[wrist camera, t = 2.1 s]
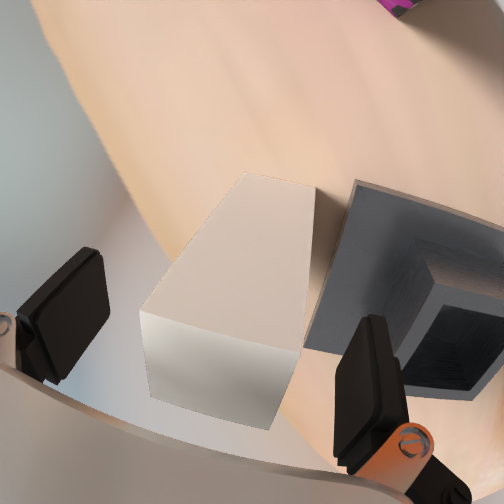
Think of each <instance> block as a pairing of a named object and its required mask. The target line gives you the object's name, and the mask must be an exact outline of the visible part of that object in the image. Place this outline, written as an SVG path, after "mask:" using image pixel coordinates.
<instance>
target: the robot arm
mask: <svg viewBox="0 0 504 504" xmlns="http://www.w3.org/2000/svg"><path fill="white" fill-rule="evenodd" d="M17 314H18V315H17V316H16V317H15V318H14V316H13V315H12V314H10V313H7V312H0V504H471V502H472V495H471V492H470V489H469V488H468V486H467V485H466V484H465V483H464V482H463V481H462V480H460V479H459V478H458V477H457V476H456V475H455V474H454V473H453V472H451V471H450V470H449V469H448V468H447V467H446V466H445V465H444V464H443V463H441V462H440V461H439V460H438V459H437V458H436V457H435V456H434V455H432V453H433V451H434V441H433V438H432V436H431V434H430V432H429V431H428V430H427V429H426V428H425V427H423V426H421V425H420V424H416V423H409V415H408V408H407V402H406V395H405V389H404V383H403V377H402V372H401V366H400V362H399V359H398V358H397V357H394V356H393V351H392V345H391V340H390V335H389V330H388V325H387V321H386V317H384V316H380V315H375V314H368V315H367V317H362V318H361V320H360V322H359V324H358V326H357V328H356V331H355V333H354V335H353V337H352V339H351V341H350V343H349V345H348V347H347V349H346V351H345V353H344V355H343V357H342V359H341V361H340V363H339V365H338V367H337V369H336V374H335V420H334V447H333V456H334V457H335V458H338V463H337V466H346V467H347V473H348V474H349V475H347V474H340V473H333V472H327V471H320V470H312V469H305V468H298V467H292V466H286V465H280V464H275V463H269V462H264V461H258V460H254V459H249V458H244V457H240V456H235V455H231V454H227V453H223V452H219V451H215V450H211V449H207V448H204V447H200V446H196V445H193V444H190V443H186V442H182V441H180V440H176V439H173V438H170V437H167V436H164V435H161V434H158V433H155V432H152V431H149V430H146V429H144V428H141V427H138V426H136V425H133V424H130V423H128V422H125V421H123V420H120V419H118V418H115V417H113V416H110V415H108V414H105V413H103V412H101V411H98V410H96V409H94V408H91V407H89V406H87V405H85V404H83V403H81V402H79V401H76V400H74V399H72V398H70V397H68V396H66V395H64V394H62V393H60V392H58V391H56V390H54V389H52V388H50V387H48V386H46V385H44V384H43V381H44V380H45V378H46V380H48V381H49V382H51V383H53V384H55V385H58V384H59V382H60V381H61V379H62V380H63V379H65V378H66V377H67V376H68V374H69V373H70V371H71V370H72V368H73V367H74V366H75V364H76V362H77V361H78V360H79V358H80V357H81V356H82V354H83V353H84V351H85V350H86V348H87V347H88V345H89V344H90V343H91V341H92V340H93V339H94V337H95V336H96V335H97V333H98V332H99V330H100V329H101V327H102V326H103V325H104V324H105V322H106V320H107V319H108V318H109V315H110V306H109V299H108V292H107V285H106V278H105V271H104V263H103V257H102V255H100V252H99V251H98V250H95V249H92V248H89V247H83V248H82V249H81V250H80V251H78V252H77V253H76V254H75V255H74V256H73V257H72V258H70V259H69V260H68V261H67V262H66V263H65V264H64V265H63V266H62V267H61V268H60V269H59V270H57V272H55V273H54V274H53V275H52V276H51V277H50V278H49V279H48V280H47V281H46V282H45V283H44V284H43V285H42V286H41V287H40V288H39V289H38V290H37V291H36V292H35V293H34V294H33V295H32V296H31V297H30V298H29V299H28V300H27V301H26V302H25V303H24V304H23V305H22V306H21V307H20V308H19V309H18V310H17Z"/></svg>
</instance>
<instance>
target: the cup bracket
mask: <svg viewBox="0 0 504 504" xmlns="http://www.w3.org/2000/svg"><path fill="white" fill-rule="evenodd" d="M368 314H375V315H380V316H384V317H386V321H387V325H388V330H389V335H390V340H391V345H392V351H393V356H394V357H397V358H398V359H399V362H400V366H401V372H402V377H403V383H404V389H405V395H406V396H414V397H424V398H436V399H449V400H466V401H472V400H473V399H474V398H475V397H476V396H477V395H478V394H479V393H480V392H481V390H482V389H483V388H484V387H485V386H486V385H487V384H488V382H489V381H490V380H491V379H492V378H493V377H494V375H495V374H496V373H497V372H498V370H499V369H500V368H501V367H502V366H503V364H504V228H503V227H501V226H498V225H496V224H493V223H491V222H488V221H485V220H483V219H480V218H477V217H474V216H472V215H469V214H466V213H463V212H460V211H458V210H455V209H452V208H449V207H446V206H443V205H440V204H437V203H434V202H431V201H428V200H425V199H421V198H418V197H415V196H412V195H409V194H405V193H402V192H399V191H395V190H392V189H388V188H385V187H381V186H378V185H374V184H371V183H367V182H363V181H360V180H356V179H355V181H354V185H353V189H352V192H351V196H350V199H349V203H348V206H347V210H346V213H345V217H344V220H343V224H342V227H341V230H340V234H339V237H338V240H337V243H336V246H335V250H334V253H333V256H332V259H331V262H330V265H329V268H328V272H327V275H326V278H325V281H324V284H323V287H322V290H321V292H320V295H319V298H318V301H317V304H316V307H315V310H314V313H313V315H312V318H311V321H310V324H309V327H308V329H307V332H306V335H305V337H304V346H303V348H308V349H313V350H318V351H323V352H328V353H333V354H338V355H344V353H345V351H346V349H347V347H348V345H349V343H350V341H351V339H352V337H353V335H354V333H355V331H356V328H357V326H358V324H359V322H360V320H361V318H362V317H367V315H368Z"/></svg>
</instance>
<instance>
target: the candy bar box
mask: <svg viewBox="0 0 504 504" xmlns="http://www.w3.org/2000/svg"><path fill="white" fill-rule="evenodd" d="M377 1H378V2H379V3H381V4H382V5H383V6H384V7H385V8H386V9H387V10H388V11H389V12H390V13H391V14H392V15H393V16H394V17H399V16H400V15H402V14H403V13H405V12H406V11H408V10H409V9H411V8H412V7H414V6H415V5H417V4H418V3H420V2H421V1H422V0H377Z"/></svg>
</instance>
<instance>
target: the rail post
mask: <svg viewBox="0 0 504 504" xmlns="http://www.w3.org/2000/svg"><path fill="white" fill-rule="evenodd" d="M315 188H316V187H312V186H308V185H304V184H299V183H295V182H291V181H286V180H281V179H277V178H272V177H267V176H263V175H258V174H253V173H248V172H244V173H243V174H242V176H241V177H240V178H239V179H238V181H237V182H236V183H235V184H234V186H233V187H232V188H231V189H230V191H229V192H228V193H227V194H226V195H225V197H224V198H223V199H222V201H221V202H220V203H219V204H218V206H217V207H216V208H215V209H214V211H213V212H212V213H211V214H210V216H209V217H208V218H207V220H206V221H205V222H204V223H203V225H202V226H201V227H200V229H199V230H198V231H197V232H196V234H195V235H194V236H193V238H192V239H191V240H190V242H189V243H188V244H187V246H186V247H185V248H184V249H183V251H182V252H181V253H180V255H179V256H178V257H177V259H176V260H175V261H174V263H173V264H172V265H171V267H170V268H169V270H168V271H167V272H166V274H165V275H164V277H163V278H162V279H161V280H160V282H159V283H158V284H157V286H156V287H155V289H154V290H153V291H152V293H151V294H150V296H149V297H148V298H147V300H146V301H145V302H144V304H143V305H142V307H141V308H140V310H139V313H140V323H141V332H142V339H143V348H144V356H145V363H146V370H147V376H148V383H149V389H150V395H151V397H153V398H156V399H158V400H161V401H164V402H167V403H170V404H173V405H176V406H179V407H182V408H185V409H189V410H192V411H195V412H198V413H202V414H205V415H209V416H212V417H216V418H219V419H223V420H227V421H231V422H235V423H239V424H243V425H247V426H251V427H255V428H260V429H264V430H269V429H270V427H271V424H272V422H273V420H274V417H275V415H276V413H277V411H278V408H279V406H280V404H281V401H282V399H283V397H284V394H285V392H286V389H287V387H288V384H289V382H290V380H291V377H292V375H293V372H294V370H295V367H296V365H297V362H298V360H299V357H300V354H301V349H302V341H303V332H304V323H305V314H306V304H307V294H308V283H309V272H310V261H311V248H312V235H313V221H314V205H315Z"/></svg>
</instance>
